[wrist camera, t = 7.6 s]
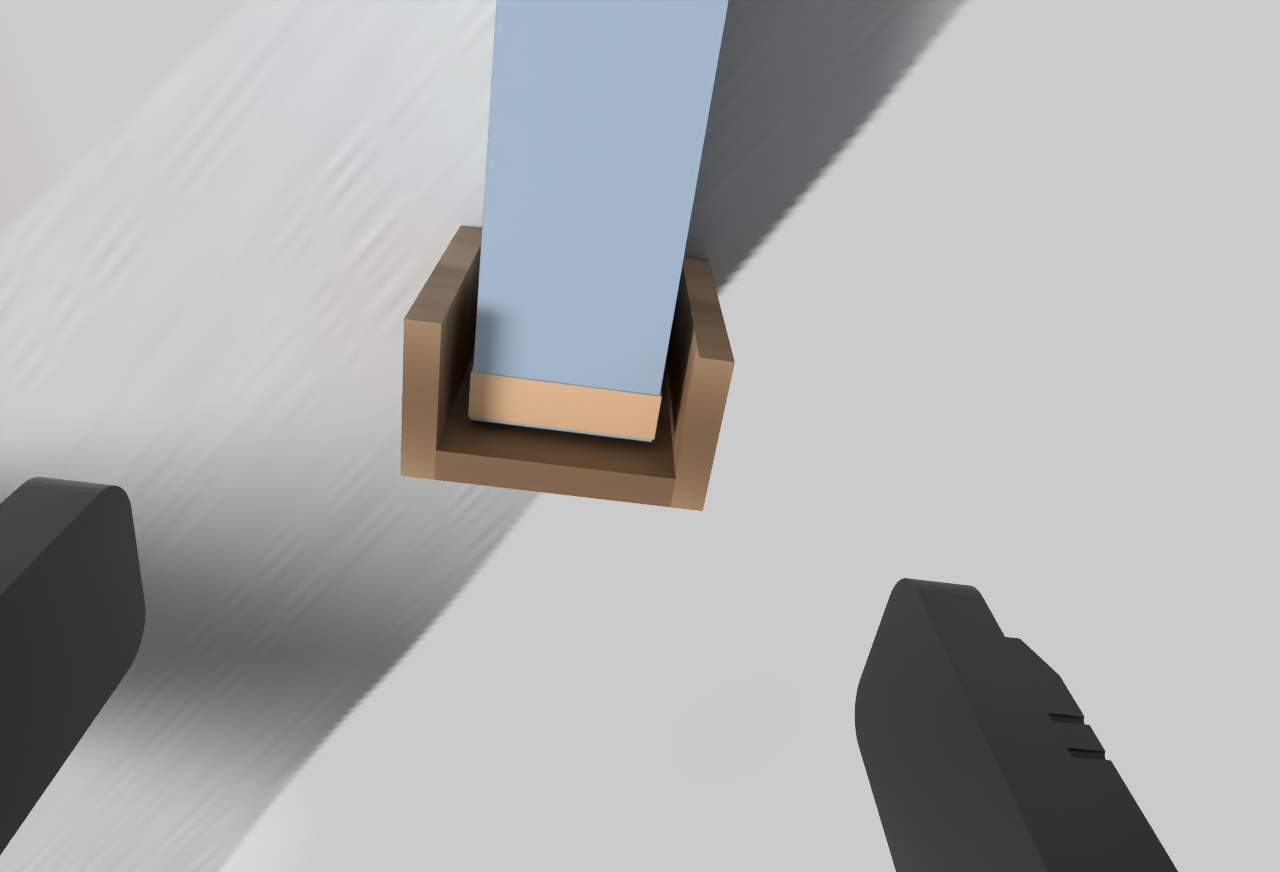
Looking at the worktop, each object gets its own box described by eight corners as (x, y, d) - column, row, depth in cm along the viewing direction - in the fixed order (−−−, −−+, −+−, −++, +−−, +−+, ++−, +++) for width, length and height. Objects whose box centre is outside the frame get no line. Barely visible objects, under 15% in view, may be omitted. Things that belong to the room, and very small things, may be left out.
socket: (685, 382, 28) (702, 510, 22) (453, 351, 28) (400, 475, 21) (708, 260, 26) (734, 362, 20) (460, 225, 26) (404, 318, 19)
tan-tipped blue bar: (648, 347, 28) (653, 443, 22) (499, 327, 27) (467, 420, 22) (755, -307, 20) (801, -401, 15) (550, -346, 20) (521, -457, 14)
